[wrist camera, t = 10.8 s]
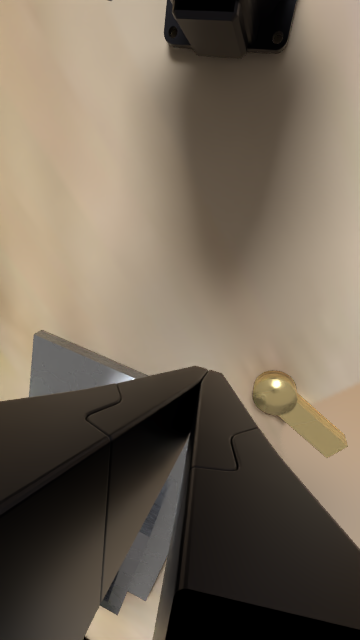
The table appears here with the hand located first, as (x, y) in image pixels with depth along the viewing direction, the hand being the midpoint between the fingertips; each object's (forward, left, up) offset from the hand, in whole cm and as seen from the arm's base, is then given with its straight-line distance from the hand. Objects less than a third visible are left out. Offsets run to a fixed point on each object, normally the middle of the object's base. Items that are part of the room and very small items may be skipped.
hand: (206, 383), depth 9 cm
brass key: (+9, +6, -13) cm, 17 cm away
